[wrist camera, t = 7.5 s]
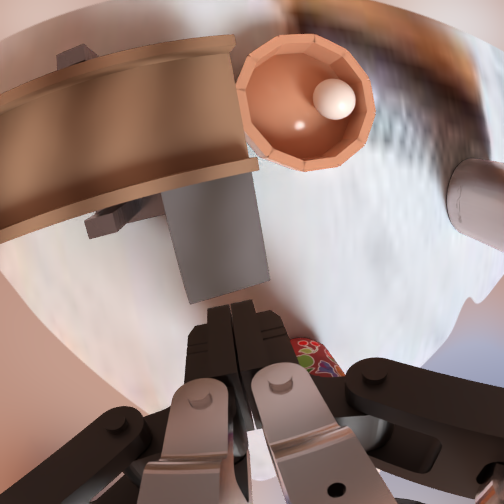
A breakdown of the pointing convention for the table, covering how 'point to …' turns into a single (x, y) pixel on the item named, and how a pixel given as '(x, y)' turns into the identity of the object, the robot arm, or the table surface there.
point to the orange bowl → (301, 103)
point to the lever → (140, 154)
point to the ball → (334, 99)
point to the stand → (121, 213)
